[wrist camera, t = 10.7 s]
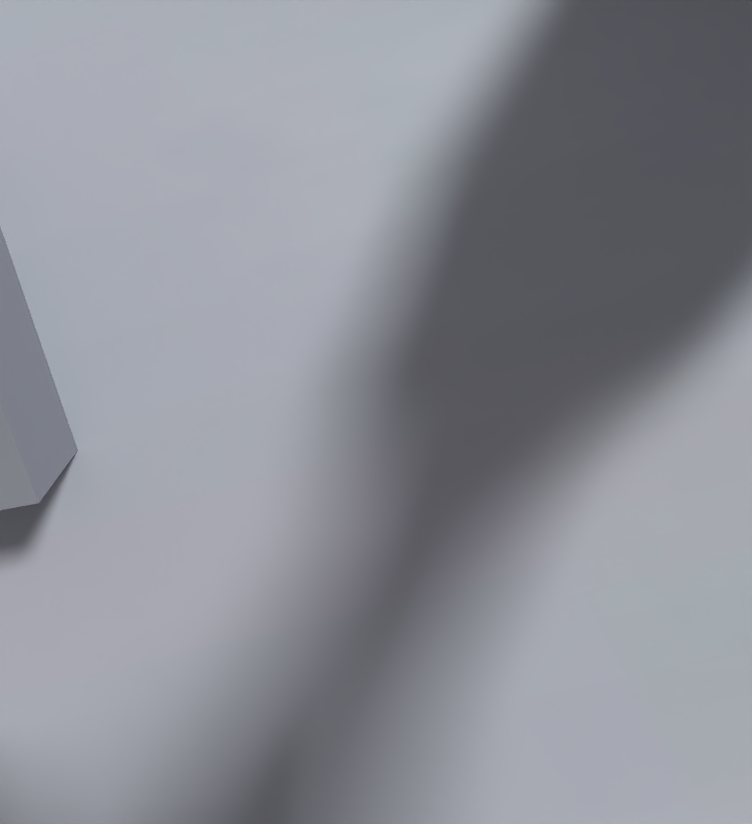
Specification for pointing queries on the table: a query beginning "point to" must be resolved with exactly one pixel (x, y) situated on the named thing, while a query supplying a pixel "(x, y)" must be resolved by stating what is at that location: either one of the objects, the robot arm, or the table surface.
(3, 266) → the slate block
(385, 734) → the table surface
